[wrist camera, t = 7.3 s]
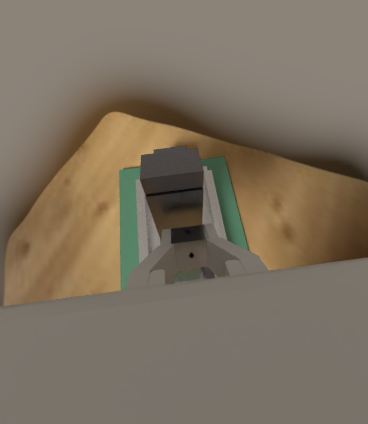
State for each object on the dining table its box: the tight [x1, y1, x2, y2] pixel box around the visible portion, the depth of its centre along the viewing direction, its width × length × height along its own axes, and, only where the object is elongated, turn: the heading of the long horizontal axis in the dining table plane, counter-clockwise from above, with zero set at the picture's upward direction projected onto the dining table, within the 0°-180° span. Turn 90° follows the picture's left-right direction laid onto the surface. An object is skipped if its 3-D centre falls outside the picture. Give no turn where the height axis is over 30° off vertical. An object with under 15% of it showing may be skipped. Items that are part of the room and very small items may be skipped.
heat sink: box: [136, 146, 227, 284], centre depth 24 cm, size 20×12×7 cm, turn 8°
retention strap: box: [140, 148, 204, 283], centre depth 15 cm, size 17×3×2 cm
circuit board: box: [119, 157, 249, 291], centre depth 28 cm, size 26×20×1 cm
